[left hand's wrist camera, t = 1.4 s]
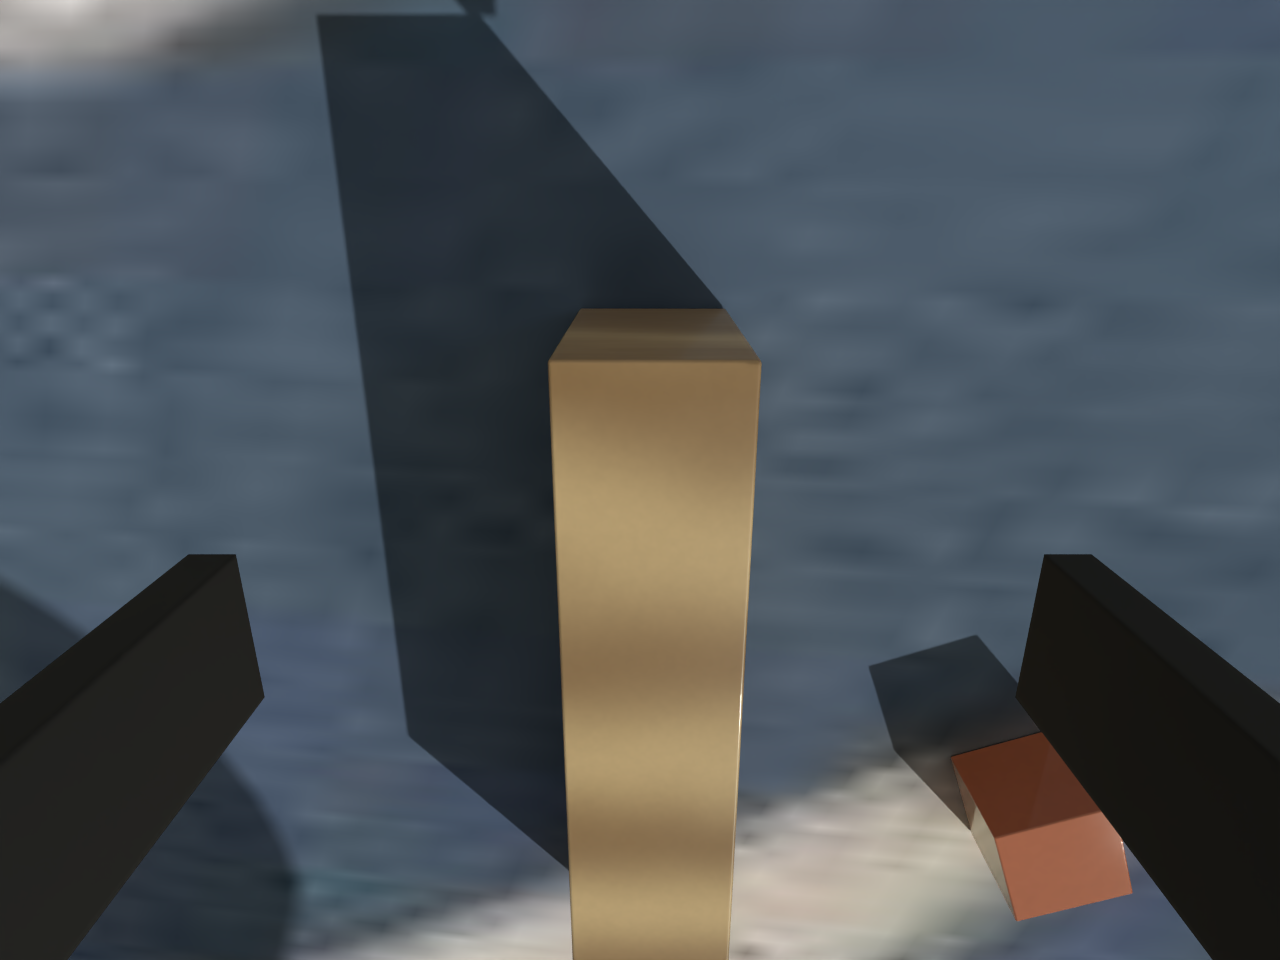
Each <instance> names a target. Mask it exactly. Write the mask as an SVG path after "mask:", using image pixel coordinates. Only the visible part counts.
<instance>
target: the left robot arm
mask: <svg viewBox="0 0 1280 960" xmlns="http://www.w3.org/2000/svg"><path fill="white" fill-rule="evenodd" d="M263 699H264V692H263V687H262V682H261V677H260V672H259V667H258V662H257V657H256V652H255V647H254V643H253V638H252V633H251V628H250V623H249V618H248V613H247V608H246V603H245V598H244V593H243V588H242V583H241V578H240V573H239V568H238V563H237V558H236V554H189V555H187V556H186V557H185V558H183V559H182V560H181V561H180V562H178V563H177V564H176V565H175V566H173V567H172V568H171V569H170V570H168V571H167V572H166V573H165V574H163V575H162V576H161V577H159V578H158V579H157V580H156V581H154V582H153V583H152V584H151V585H149V586H148V587H147V588H146V589H144V590H143V591H142V592H141V593H139V594H138V595H137V596H135V597H134V598H133V599H132V600H130V601H129V602H128V603H127V604H125V605H124V606H123V607H122V608H120V609H119V610H118V611H117V612H115V613H114V614H113V615H111V616H110V617H109V618H108V619H106V620H105V621H104V622H103V623H101V624H100V625H99V626H98V627H96V628H95V629H94V630H93V631H91V632H90V633H89V634H87V635H86V636H85V637H84V638H82V639H81V640H80V641H79V642H77V643H76V644H75V645H74V646H72V647H71V648H70V649H69V650H67V651H66V652H65V653H63V654H62V655H61V656H60V657H58V658H57V659H56V660H55V661H53V662H52V663H51V664H50V665H48V666H47V667H46V668H45V669H43V670H42V671H41V672H39V673H38V674H37V675H36V676H34V677H33V678H32V679H31V680H29V681H28V682H27V683H26V684H24V685H23V686H22V687H21V688H19V689H18V690H17V691H15V692H14V693H13V694H12V695H10V696H9V697H8V698H7V699H5V700H4V701H3V702H2V703H0V960H68V958H69V957H70V956H71V954H72V953H73V952H74V950H75V949H76V948H77V946H78V945H79V944H80V942H81V941H82V940H83V938H84V937H85V936H86V934H87V933H88V932H89V930H90V929H91V928H92V926H93V925H94V924H95V922H96V921H97V920H98V918H99V917H100V916H101V914H102V913H103V912H104V910H105V909H106V908H107V906H108V905H109V904H110V902H111V901H112V900H113V898H114V897H115V896H116V894H117V893H118V892H119V890H120V889H121V888H122V886H123V885H124V884H125V882H126V881H127V880H128V878H129V877H130V876H131V874H132V873H133V872H134V870H135V869H136V868H137V866H138V865H139V864H140V862H141V861H142V860H143V858H144V857H145V856H146V854H147V853H148V852H149V850H150V849H151V848H152V846H153V845H154V844H155V842H156V841H157V840H158V838H159V837H160V836H161V834H162V833H163V832H164V830H165V829H166V828H167V826H168V825H169V824H170V822H171V821H172V820H173V818H174V817H175V816H176V814H177V813H178V812H179V810H180V809H181V808H182V806H183V805H184V804H185V802H186V801H187V800H188V798H189V797H190V796H191V794H192V793H193V792H194V790H195V789H196V788H197V786H198V785H199V784H200V782H201V781H202V780H203V778H204V777H205V776H206V774H207V773H208V772H209V770H210V769H211V768H212V766H213V765H214V764H215V762H216V761H217V760H218V758H219V757H220V756H221V754H222V753H223V752H224V750H225V749H226V748H227V746H228V745H229V744H230V742H231V741H232V740H233V738H234V737H235V736H236V734H237V733H238V732H239V730H240V729H241V728H242V726H243V725H244V724H245V722H246V721H247V720H248V719H249V717H250V716H251V715H252V713H253V712H254V711H255V709H256V708H257V707H258V705H259V704H260V703H261V701H262V700H263ZM1016 699H1017V700H1018V701H1019V703H1020V704H1021V705H1022V707H1023V708H1024V709H1025V711H1026V712H1027V713H1028V715H1029V716H1030V717H1031V719H1032V720H1033V721H1034V723H1035V724H1036V725H1037V726H1038V728H1039V729H1040V730H1041V732H1042V733H1043V734H1044V736H1045V737H1046V738H1047V740H1048V741H1049V742H1050V744H1051V745H1052V746H1053V748H1054V749H1055V750H1056V752H1057V753H1058V754H1059V756H1060V757H1061V758H1062V760H1063V761H1064V762H1065V764H1066V765H1067V766H1068V768H1069V769H1070V770H1071V772H1072V773H1073V774H1074V776H1075V777H1076V778H1077V780H1078V781H1079V782H1080V784H1081V785H1082V786H1083V788H1084V789H1085V790H1086V792H1087V793H1088V794H1089V796H1090V797H1091V798H1092V800H1093V801H1094V802H1095V804H1096V805H1097V806H1098V808H1099V809H1100V810H1101V812H1102V813H1103V814H1104V816H1105V817H1106V818H1107V820H1108V821H1109V822H1110V824H1111V825H1112V826H1113V828H1114V829H1115V830H1116V832H1117V833H1118V834H1119V836H1120V837H1121V838H1122V840H1123V841H1124V842H1125V844H1126V845H1127V846H1128V848H1129V849H1130V850H1131V852H1132V853H1133V854H1134V856H1135V857H1136V858H1137V860H1138V861H1139V862H1140V864H1141V865H1142V866H1143V868H1144V869H1145V870H1146V872H1147V873H1148V874H1149V876H1150V877H1151V878H1152V880H1153V881H1154V882H1155V884H1156V885H1157V886H1158V888H1159V889H1160V890H1161V892H1162V893H1163V894H1164V896H1165V897H1166V898H1167V900H1168V901H1169V902H1170V904H1171V905H1172V906H1173V908H1174V909H1175V910H1176V912H1177V913H1178V914H1179V916H1180V917H1181V918H1182V920H1183V921H1184V922H1185V924H1186V925H1187V926H1188V928H1189V929H1190V930H1191V932H1192V933H1193V934H1194V936H1195V937H1196V938H1197V940H1198V941H1199V942H1200V944H1201V945H1202V946H1203V948H1204V949H1205V950H1206V952H1207V953H1208V954H1209V956H1210V957H1211V958H1212V960H1280V703H1278V702H1277V701H1276V700H1275V699H1273V698H1272V697H1271V696H1270V695H1268V694H1267V693H1266V692H1265V691H1263V690H1262V689H1261V688H1259V687H1258V686H1257V685H1256V684H1254V683H1253V682H1252V681H1251V680H1249V679H1248V678H1247V677H1246V676H1244V675H1243V674H1242V673H1241V672H1239V671H1238V670H1237V669H1235V668H1234V667H1233V666H1232V665H1230V664H1229V663H1228V662H1227V661H1225V660H1224V659H1223V658H1222V657H1220V656H1219V655H1218V654H1217V653H1215V652H1214V651H1213V650H1211V649H1210V648H1209V647H1208V646H1206V645H1205V644H1204V643H1203V642H1201V641H1200V640H1199V639H1198V638H1196V637H1195V636H1194V635H1193V634H1191V633H1190V632H1189V631H1187V630H1186V629H1185V628H1184V627H1182V626H1181V625H1180V624H1179V623H1177V622H1176V621H1175V620H1174V619H1172V618H1171V617H1170V616H1169V615H1167V614H1166V613H1165V612H1163V611H1162V610H1161V609H1160V608H1158V607H1157V606H1156V605H1155V604H1153V603H1152V602H1151V601H1150V600H1148V599H1147V598H1146V597H1145V596H1143V595H1142V594H1141V593H1139V592H1138V591H1137V590H1136V589H1134V588H1133V587H1132V586H1131V585H1129V584H1128V583H1127V582H1126V581H1124V580H1123V579H1122V578H1121V577H1119V576H1118V575H1117V574H1115V573H1114V572H1113V571H1112V570H1110V569H1109V568H1108V567H1107V566H1105V565H1104V564H1103V563H1102V562H1100V561H1099V560H1098V559H1097V558H1095V557H1094V556H1093V555H1091V554H1044V558H1043V563H1042V568H1041V573H1040V578H1039V583H1038V588H1037V593H1036V598H1035V603H1034V608H1033V613H1032V618H1031V623H1030V628H1029V633H1028V638H1027V643H1026V647H1025V652H1024V657H1023V662H1022V667H1021V672H1020V677H1019V682H1018V687H1017V692H1016Z"/></svg>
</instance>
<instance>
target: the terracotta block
mask: <svg viewBox="0 0 1280 960" xmlns="http://www.w3.org/2000/svg"><path fill="white" fill-rule="evenodd" d="M951 761H952V764H953V768H954V771H955V775H956V779H957V782H958V786H959V790H960V793H961V797H962V800H963V804H964V808H965V811H966V815H967V819H968V822H969V826H970V829H971V833H972V835H973V837H974V839H975V841H976V843H977V845H978V847H979V849H980V851H981V853H982V855H983V857H984V859H985V861H986V863H987V865H988V867H989V869H990V871H991V873H992V875H993V876H994V878H995V880H996V882H997V884H998V886H999V888H1000V890H1001V892H1002V894H1003V896H1004V898H1005V900H1006V902H1007V904H1008V906H1009V908H1010V910H1011V912H1012V914H1013V916H1014V918H1015V920H1016V921H1021V920H1025V919H1029V918H1033V917H1037V916H1041V915H1045V914H1049V913H1053V912H1058V911H1062V910H1066V909H1070V908H1074V907H1078V906H1082V905H1086V904H1090V903H1095V902H1099V901H1103V900H1107V899H1111V898H1115V897H1119V896H1123V895H1128V894H1131V893H1132V887H1131V882H1130V877H1129V872H1128V866H1127V861H1126V856H1125V851H1124V845H1123V840H1122V838H1121V837H1120V836H1119V834H1118V833H1117V832H1116V830H1115V829H1114V828H1113V826H1112V825H1111V824H1110V822H1109V821H1108V820H1107V818H1106V817H1105V816H1104V814H1103V813H1102V812H1101V810H1100V809H1099V808H1098V806H1097V805H1096V804H1095V802H1094V801H1093V800H1092V798H1091V797H1090V796H1089V794H1088V793H1087V792H1086V790H1085V789H1084V788H1083V786H1082V785H1081V784H1080V782H1079V781H1078V780H1077V778H1076V777H1075V776H1074V774H1073V773H1072V772H1071V770H1070V769H1069V768H1068V766H1067V765H1066V764H1065V762H1064V761H1063V760H1062V758H1061V757H1060V756H1059V754H1058V753H1057V752H1056V750H1055V749H1054V748H1053V746H1052V745H1051V744H1050V742H1049V741H1048V740H1047V738H1046V737H1045V736H1044V734H1043V733H1042V732H1040V733H1036V734H1032V735H1029V736H1025V737H1021V738H1018V739H1014V740H1010V741H1007V742H1003V743H999V744H996V745H992V746H988V747H985V748H981V749H977V750H974V751H970V752H966V753H963V754H959V755H956V756H952V757H951Z"/></svg>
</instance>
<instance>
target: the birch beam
mask: <svg viewBox="0 0 1280 960" xmlns="http://www.w3.org/2000/svg"><path fill="white" fill-rule="evenodd" d="M548 381H549V405H550V429H551V453H552V477H553V501H554V524H555V548H556V572H557V596H558V620H559V644H560V667H561V691H562V715H563V739H564V763H565V786H566V810H567V834H568V858H569V882H570V906H571V929H572V953H573V960H728V959H729V941H730V923H731V905H732V887H733V869H734V851H735V833H736V815H737V797H738V779H739V761H740V742H741V724H742V706H743V688H744V670H745V652H746V634H747V616H748V598H749V580H750V562H751V544H752V526H753V508H754V489H755V471H756V453H757V435H758V417H759V399H760V381H761V361H760V359H759V358H758V356H757V355H756V353H755V352H754V350H753V349H752V347H751V346H750V345H749V343H748V342H747V340H746V339H745V337H744V336H743V334H742V333H741V331H740V330H739V328H738V327H737V326H736V324H735V323H734V321H733V320H732V318H731V317H730V315H729V314H728V312H727V311H726V310H725V309H580V310H579V312H578V313H577V315H576V317H575V318H574V320H573V322H572V323H571V325H570V326H569V328H568V330H567V331H566V333H565V335H564V336H563V338H562V339H561V341H560V343H559V344H558V346H557V348H556V349H555V351H554V352H553V354H552V356H551V357H550V359H549V361H548Z"/></svg>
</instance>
